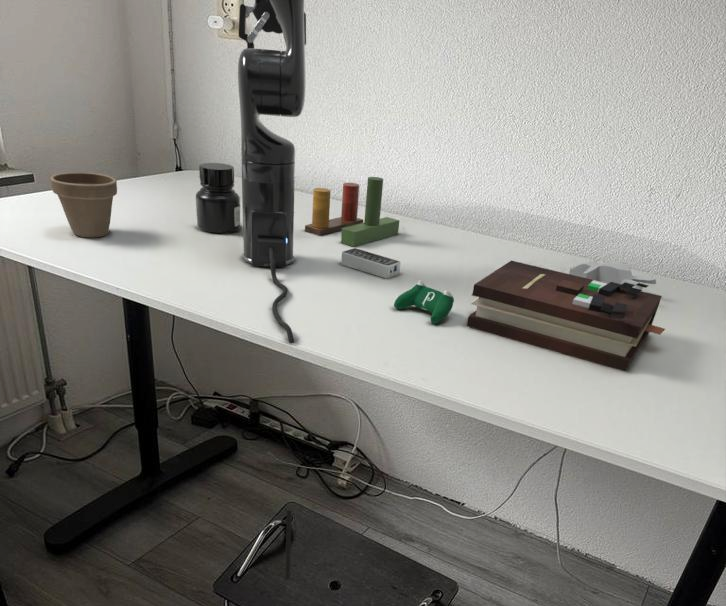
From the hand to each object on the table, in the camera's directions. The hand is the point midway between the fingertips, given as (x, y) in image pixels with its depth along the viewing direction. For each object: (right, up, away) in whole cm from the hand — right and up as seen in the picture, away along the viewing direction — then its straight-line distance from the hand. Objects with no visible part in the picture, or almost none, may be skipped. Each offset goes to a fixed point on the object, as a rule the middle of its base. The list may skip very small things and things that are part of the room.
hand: (272, 66), depth 144 cm
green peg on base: (+21, -38, -2) cm, 44 cm away
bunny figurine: (+66, -54, -17) cm, 87 cm away
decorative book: (+51, -67, -37) cm, 92 cm away
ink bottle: (-11, -37, -5) cm, 39 cm away
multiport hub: (+21, -50, -19) cm, 58 cm away
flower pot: (-33, -42, -15) cm, 56 cm away
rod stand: (+13, -34, +3) cm, 37 cm away
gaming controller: (+30, -63, -35) cm, 78 cm away
